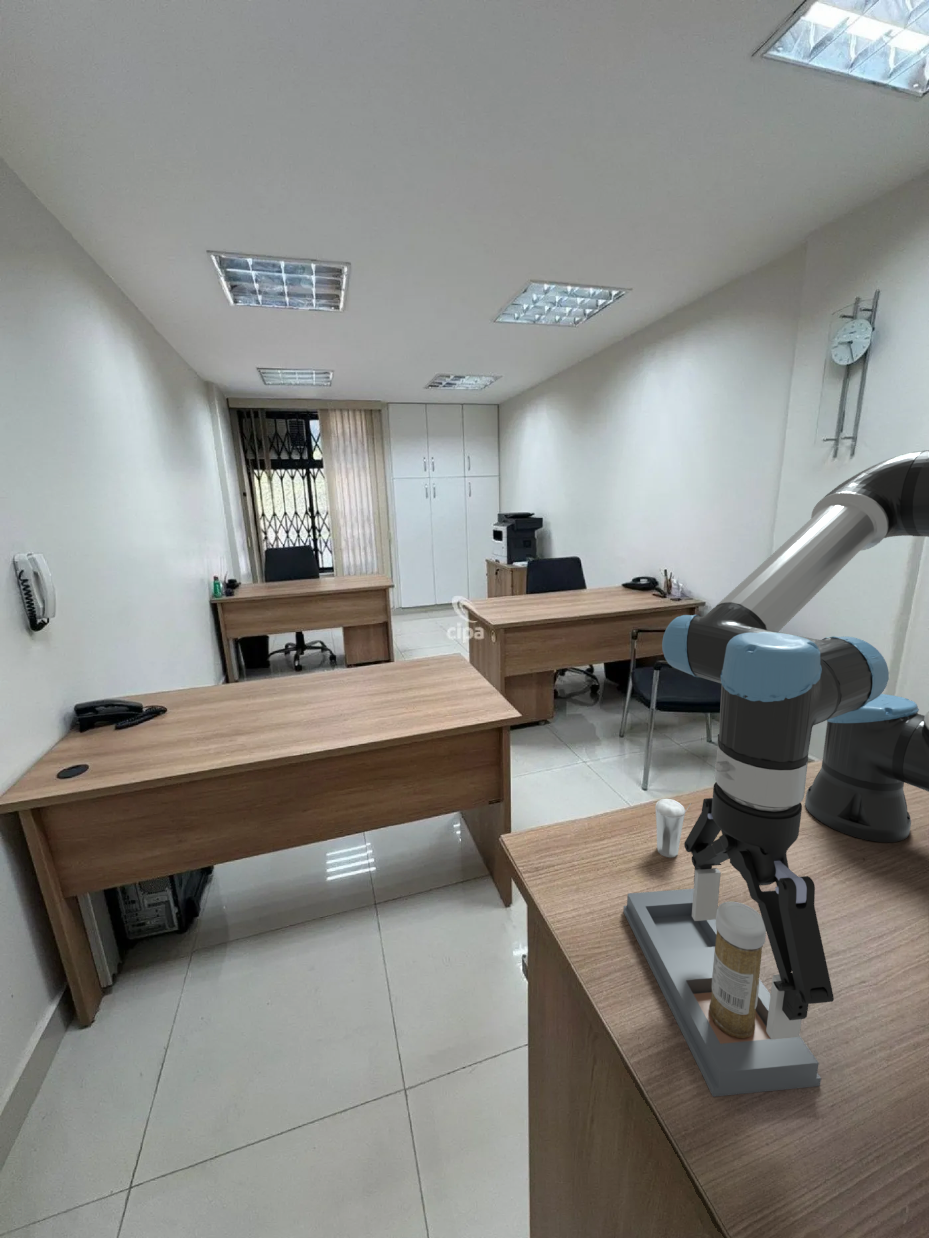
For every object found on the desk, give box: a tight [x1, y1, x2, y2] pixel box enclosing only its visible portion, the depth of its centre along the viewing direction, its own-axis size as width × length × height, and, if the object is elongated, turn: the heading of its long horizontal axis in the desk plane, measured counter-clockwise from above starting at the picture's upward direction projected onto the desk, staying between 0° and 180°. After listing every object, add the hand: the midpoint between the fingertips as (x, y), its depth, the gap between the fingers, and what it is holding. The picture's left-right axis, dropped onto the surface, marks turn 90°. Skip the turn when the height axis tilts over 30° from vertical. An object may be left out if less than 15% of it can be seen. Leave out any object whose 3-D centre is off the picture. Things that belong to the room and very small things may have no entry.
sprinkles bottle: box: [709, 901, 767, 1038], centre depth 53 cm, size 5×5×13 cm
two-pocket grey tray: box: [622, 888, 822, 1098], centre depth 59 cm, size 11×23×3 cm, turn 4°
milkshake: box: [654, 798, 692, 859], centre depth 82 cm, size 4×5×10 cm
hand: (738, 968), depth 53 cm, fingers open, 13 cm apart
